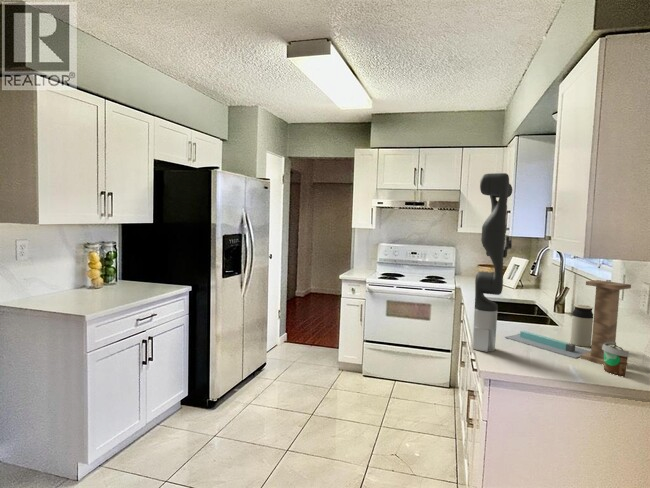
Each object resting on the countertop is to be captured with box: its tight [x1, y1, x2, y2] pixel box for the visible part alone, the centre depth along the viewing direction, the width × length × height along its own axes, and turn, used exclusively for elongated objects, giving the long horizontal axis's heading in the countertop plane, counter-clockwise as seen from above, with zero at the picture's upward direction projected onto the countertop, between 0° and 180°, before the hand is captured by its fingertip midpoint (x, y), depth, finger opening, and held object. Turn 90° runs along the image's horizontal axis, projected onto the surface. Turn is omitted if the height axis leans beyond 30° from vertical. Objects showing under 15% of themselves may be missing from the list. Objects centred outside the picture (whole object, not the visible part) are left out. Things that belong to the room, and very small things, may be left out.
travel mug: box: [570, 303, 594, 348], centre depth 186 cm, size 8×8×18 cm
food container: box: [602, 341, 630, 378], centre depth 153 cm, size 12×6×10 cm, turn 163°
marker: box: [519, 330, 576, 352], centre depth 185 cm, size 24×3×3 cm, turn 30°
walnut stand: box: [580, 279, 632, 366], centre depth 164 cm, size 12×11×32 cm
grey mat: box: [504, 333, 591, 359], centre depth 184 cm, size 32×16×1 cm, turn 32°
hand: (496, 256), depth 200 cm, fingers open, 8 cm apart
